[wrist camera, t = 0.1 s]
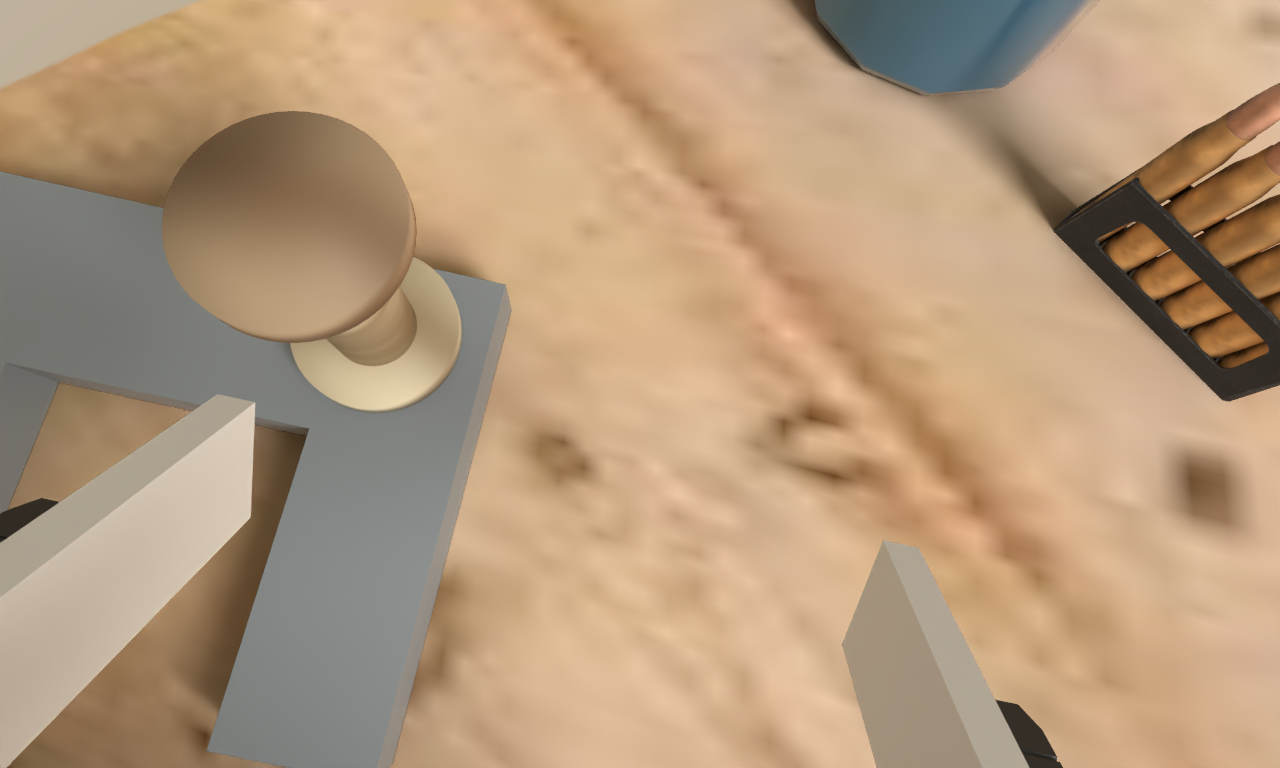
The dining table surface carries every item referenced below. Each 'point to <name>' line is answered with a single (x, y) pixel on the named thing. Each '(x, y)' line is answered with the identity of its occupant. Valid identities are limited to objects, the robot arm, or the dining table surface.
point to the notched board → (322, 485)
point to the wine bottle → (950, 38)
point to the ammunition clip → (1198, 249)
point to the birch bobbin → (314, 257)
